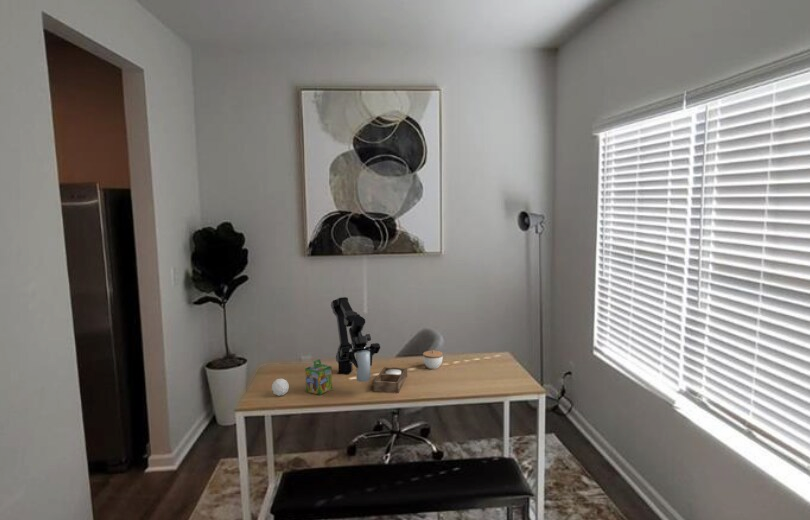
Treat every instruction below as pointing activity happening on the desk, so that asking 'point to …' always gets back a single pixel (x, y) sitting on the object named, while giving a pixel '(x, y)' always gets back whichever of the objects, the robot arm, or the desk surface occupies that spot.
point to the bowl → (393, 371)
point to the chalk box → (318, 378)
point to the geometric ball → (280, 387)
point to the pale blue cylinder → (363, 365)
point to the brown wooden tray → (390, 380)
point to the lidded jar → (432, 359)
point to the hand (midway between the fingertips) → (364, 366)
